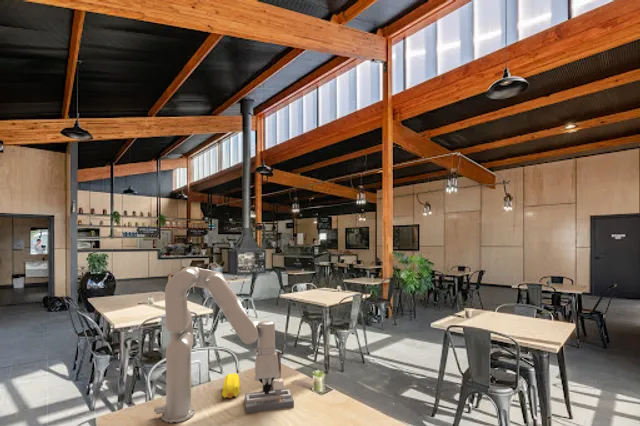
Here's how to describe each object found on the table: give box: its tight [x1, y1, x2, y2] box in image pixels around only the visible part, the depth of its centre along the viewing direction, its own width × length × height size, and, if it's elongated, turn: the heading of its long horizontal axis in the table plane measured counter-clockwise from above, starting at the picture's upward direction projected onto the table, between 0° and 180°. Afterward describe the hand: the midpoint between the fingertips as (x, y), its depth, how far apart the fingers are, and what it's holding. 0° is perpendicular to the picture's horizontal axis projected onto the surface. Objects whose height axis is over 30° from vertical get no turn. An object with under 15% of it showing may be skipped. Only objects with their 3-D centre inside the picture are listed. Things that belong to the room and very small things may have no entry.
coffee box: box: [265, 350, 282, 390], centre depth 167 cm, size 9×6×16 cm
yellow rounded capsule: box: [221, 372, 241, 399], centre depth 163 cm, size 18×7×8 cm
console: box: [244, 387, 295, 414], centre depth 152 cm, size 20×13×3 cm, turn 104°
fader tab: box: [273, 377, 285, 396], centre depth 153 cm, size 4×3×6 cm
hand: (266, 392), depth 152 cm, fingers closed
